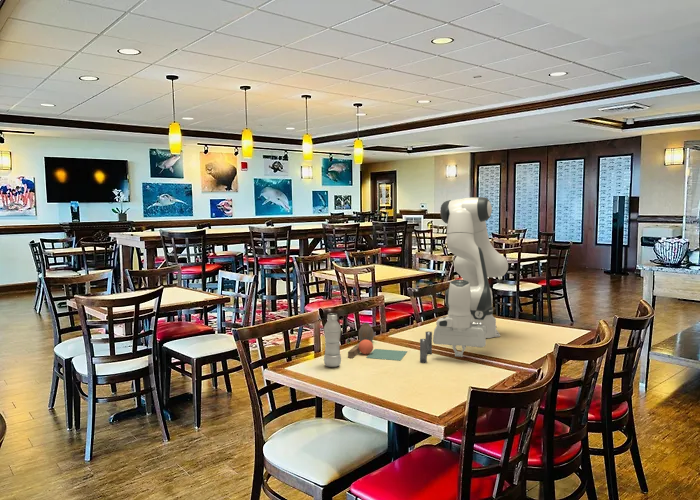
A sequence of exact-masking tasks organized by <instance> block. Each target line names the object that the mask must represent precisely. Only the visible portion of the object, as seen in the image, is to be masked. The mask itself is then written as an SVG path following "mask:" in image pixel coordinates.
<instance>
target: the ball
mask: <svg viewBox="0 0 700 500" xmlns="http://www.w3.org/2000/svg"><path fill="white" fill-rule="evenodd" d="M359 342H360V341H359ZM359 342H358V343H359ZM359 350H360V352H359V353H361V354H363V355H369V354H370V353H371V352H372V351H373V350H374V344H373V342H372V341H369V340H362V341H361V342H360V343H359Z"/></svg>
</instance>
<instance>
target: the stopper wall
mask: <svg viewBox="0 0 700 500" xmlns="http://www.w3.org/2000/svg"><path fill="white" fill-rule="evenodd" d="M360 342H361V341H360V340H359V342H358V343H357V344H355V345H354V346H353V347H351V348H350V350H348V352H347V358H348V359H354V358H355V357H356V356H357V355H358V354H359V353H361V352H360V350H359V343H360Z"/></svg>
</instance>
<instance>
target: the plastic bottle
mask: <svg viewBox="0 0 700 500" xmlns="http://www.w3.org/2000/svg"><path fill="white" fill-rule="evenodd" d="M326 316H327V318H326V319H327V321H326V323H325V324H324V327H323V331H324V339H325V341H324V342H325V347H324V348H325V349H324V355H323V362H324V365H325V366H326V367H328V368H337V367H339V366H340V365H341V364H342V363H341V362H342V356H341V348H340V344H341V343H340V341H341V331H342V328H341V325H340V323H339V322H338V313H327V315H326Z"/></svg>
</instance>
